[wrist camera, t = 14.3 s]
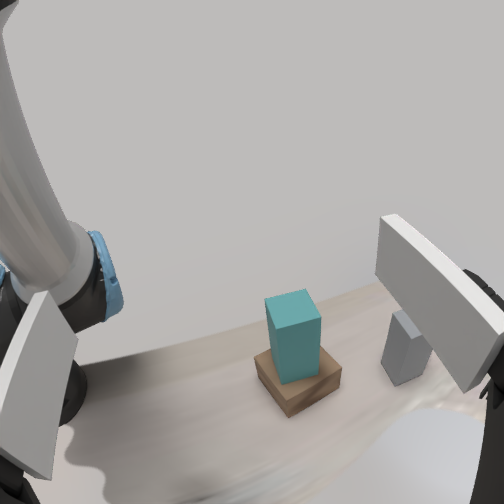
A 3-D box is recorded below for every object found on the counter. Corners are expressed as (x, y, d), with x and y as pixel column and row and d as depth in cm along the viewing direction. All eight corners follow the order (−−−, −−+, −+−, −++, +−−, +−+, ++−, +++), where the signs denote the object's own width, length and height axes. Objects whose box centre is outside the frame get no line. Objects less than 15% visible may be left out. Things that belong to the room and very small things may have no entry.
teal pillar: (281, 384, 35) (275, 329, 29) (271, 356, 38) (264, 299, 33) (318, 374, 35) (321, 317, 30) (306, 347, 39) (305, 288, 34)
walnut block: (288, 419, 35) (286, 400, 33) (258, 378, 42) (253, 357, 39) (339, 388, 38) (341, 367, 35) (306, 352, 44) (305, 330, 41)
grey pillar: (394, 386, 36) (411, 339, 30) (380, 362, 40) (392, 313, 34) (421, 374, 36) (441, 326, 31) (407, 352, 40) (422, 302, 35)
